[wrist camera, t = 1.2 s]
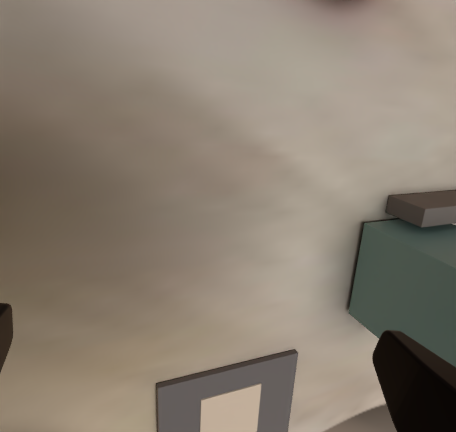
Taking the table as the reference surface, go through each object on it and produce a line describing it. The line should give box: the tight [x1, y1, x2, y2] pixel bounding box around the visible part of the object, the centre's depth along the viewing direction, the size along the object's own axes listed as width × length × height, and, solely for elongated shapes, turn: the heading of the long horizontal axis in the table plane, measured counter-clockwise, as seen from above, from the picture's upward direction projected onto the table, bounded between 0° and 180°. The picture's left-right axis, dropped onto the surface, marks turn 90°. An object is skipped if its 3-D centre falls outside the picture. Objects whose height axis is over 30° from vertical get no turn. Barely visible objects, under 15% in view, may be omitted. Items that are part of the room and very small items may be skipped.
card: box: [156, 350, 298, 432], centre depth 27 cm, size 10×8×1 cm
